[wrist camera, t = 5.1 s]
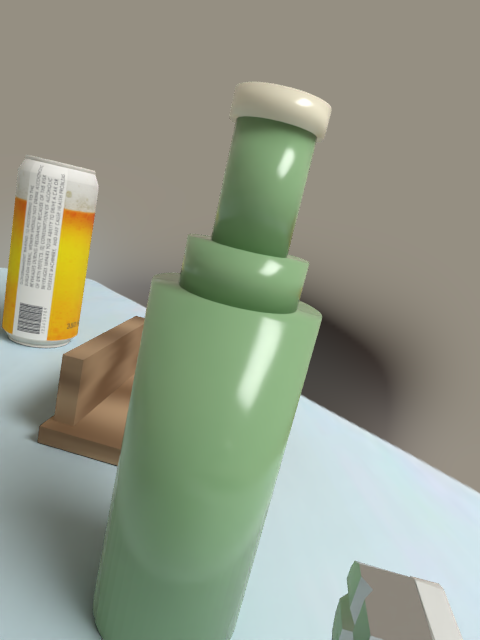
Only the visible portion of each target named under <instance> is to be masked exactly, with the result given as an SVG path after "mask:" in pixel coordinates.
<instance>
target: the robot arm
mask: <svg viewBox="0 0 480 640" xmlns="http://www.w3.org/2000/svg"><path fill="white" fill-rule="evenodd" d="M347 585H348V594H346V595H345V596H343V597H341V598H340V600H339V603H338V606H337V610H336V613H335V618H334V624H333V630H332V640H463V638H462V636H461V633H460V630H459V628H458V625H457V623H456V620H455V617H454V615H453V612H452V610H451V607H450V604H449V602H448V599H447V597H446V594H445V591H444V589H443V588H442V587H441V586H440V585H439V584H438V583H434V582H430V581H427V580H423V579H419V578H416V577H412V576H410V577H408V576H405V575H401V574H398V573H395V572H391V571H388V570H385V569H381V568H378V567H375V566H371V565H368V564H365V563H361V562H358V561H354V563H353V565H352V566H351V568H350V571H349V574H348V577H347Z"/></svg>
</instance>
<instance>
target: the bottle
mask: <svg viewBox="0 0 480 640" xmlns="http://www.w3.org/2000/svg"><path fill="white" fill-rule="evenodd" d="M331 110H332V109H331V107H330V105H329V104H328V103H326V102H325V101H324V100H322V99H320V98H318V97H316V96H314V95H311V94H309V93H306V92H304V91H301V90H298V89H294V88H291V87H287V86H282V85H277V84H271V83H264V82H244V83H240V84H238V85H237V86H236V88H235V93H234V97H233V102H232V107H231V112H230V116H229V118H230V120H231V121H232V122H234V123H235V127H234V132H233V136H232V141H231V146H230V150H229V155H228V160H227V165H226V169H225V174H224V179H223V184H222V189H221V193H220V198H219V203H218V207H217V212H216V217H215V222H214V226H213V232H212V236H206V235H199V234H188V238H187V243H186V248H185V253H184V258H183V263H182V268H181V273H162V274H157V275H155V276H153V278H152V282H151V288H150V293H149V299H148V304H147V309H146V315H145V320H144V326H143V331H142V337H141V342H140V347H139V353H138V358H137V364H136V369H135V375H134V380H133V386H132V391H131V396H130V402H129V407H128V413H127V418H126V424H125V429H124V435H123V440H122V445H121V451H120V456H119V462H118V467H117V473H116V478H115V484H114V489H113V494H112V500H111V505H110V511H109V516H108V522H107V527H106V533H105V538H104V543H103V549H102V554H101V560H100V565H99V571H98V576H97V581H96V587H95V592H94V599H93V615H94V619H95V623H96V626H97V629H98V631H99V633H100V635H101V636H102V638H103V640H230V638H231V637H232V635H233V632H234V629H235V626H236V622H237V619H238V615H239V612H240V608H241V605H242V601H243V597H244V594H245V590H246V587H247V583H248V580H249V576H250V573H251V569H252V565H253V562H254V558H255V555H256V551H257V548H258V544H259V540H260V537H261V533H262V530H263V526H264V523H265V519H266V516H267V512H268V508H269V505H270V501H271V498H272V494H273V491H274V487H275V484H276V480H277V476H278V473H279V469H280V466H281V462H282V459H283V455H284V451H285V448H286V444H287V441H288V437H289V434H290V430H291V427H292V423H293V419H294V416H295V412H296V409H297V405H298V402H299V398H300V394H301V391H302V387H303V384H304V380H305V377H306V373H307V370H308V366H309V362H310V358H311V355H312V351H313V348H314V345H315V341H316V337H317V334H318V330H319V327H320V323H321V320H322V315H321V314H320V313H319V312H318V311H317V310H316V309H314V308H313V307H311V306H309V305H307V304H305V303H303V302H301V301H299V300H300V296H301V292H302V289H303V285H304V281H305V277H306V274H307V270H308V266H309V262H307V261H306V260H303V259H301V258H298V257H294V256H292V255H288V251H289V247H290V244H291V239H292V236H293V232H294V227H295V224H296V220H297V216H298V211H299V208H300V203H301V200H302V196H303V192H304V188H305V184H306V180H307V176H308V172H309V168H310V164H311V160H312V157H313V153H314V148H315V145H316V143H318V142H322V141H323V140H324V138H325V134H326V130H327V126H328V122H329V118H330V114H331Z"/></svg>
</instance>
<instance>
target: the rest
mask: <svg viewBox="0 0 480 640" xmlns="http://www.w3.org/2000/svg"><path fill="white" fill-rule="evenodd" d="M144 320H145V318H142V317H138V316H135V317H133V318H131V319H129V320H127V321H125V322H124V323H122V324H120V325H118V326H116V327H114V328H112V329H110V330H108V331H107V332H105V333H103V334H101V335H99V336H97V337H95V338H93V339H91V340H89V341H88V342H86V343H84V344H82V345H80V346H78V347H76V348H74V349H72V350H71V351H69V352H67V353H65V354H63V357H62V364H61V371H60V379H59V386H58V393H57V400H56V407H55V415H54V416H52V417H51V418H50V419H48V420H47V421H46V422H44V423H43V424H42V425H40V426H39V434H38V443H42V444H45V445H49V446H52V447H55V448H59V449H62V450H66V451H69V452H72V453H76V454H79V455H83V456H86V457H89V458H93V459H96V460H100V461H103V462H106V463H110V464H113V465H117V466H118V462H119V456H120V451H121V445H122V440H123V435H124V429H125V424H126V418H127V413H128V407H129V402H130V396H131V391H132V386H133V380H134V375H135V369H136V364H137V358H138V353H139V347H140V342H141V337H142V331H143V326H144Z"/></svg>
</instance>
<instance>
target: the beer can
mask: <svg viewBox="0 0 480 640" xmlns="http://www.w3.org/2000/svg"><path fill="white" fill-rule="evenodd" d="M95 174H96V171H93V170H89V169H85V168H81V167H77V166H72V165H69V164H64V163H60V162H56V161H52V160H47V159H43V158H39V157H34V156H30V155H26V158H25V160H24V161H23V163H22V164H21V166H20V167H19V169H18V178H17V189H16V198H15V208H14V217H13V228H12V236H11V246H10V257H9V265H8V275H7V284H6V294H5V303H4V313H3V323H2V328H3V329H4V330H5V331H6V333H7V334H8V337H9V338H10V339H11V340H12V341H14V342H16V343H18V344H22V345H25V346H30V347H38V348H55V347H61V346H64V345H67V344H68V343H69V342H70V340H71V339H72V338H74V337H75V336H76V335H77V333H78V326H79V319H80V312H81V305H82V298H83V292H84V285H85V278H86V270H87V264H88V257H89V250H90V242H91V236H92V230H93V223H94V216H95V209H96V202H97V195H98V188H99V186H98V182H97V179H96V176H95Z"/></svg>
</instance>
